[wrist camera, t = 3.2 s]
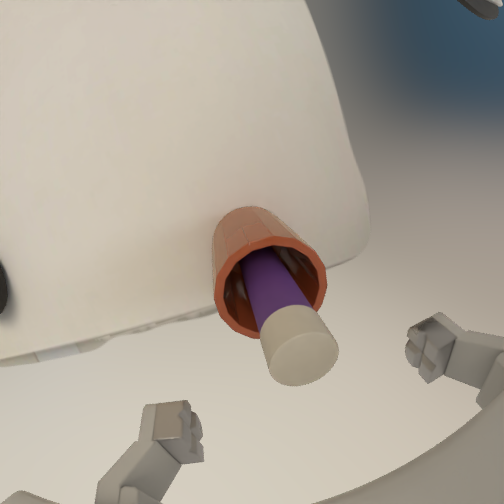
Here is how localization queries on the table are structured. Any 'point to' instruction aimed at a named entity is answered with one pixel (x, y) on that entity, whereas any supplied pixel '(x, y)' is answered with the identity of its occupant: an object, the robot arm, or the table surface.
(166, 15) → the table surface
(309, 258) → the pencil cup
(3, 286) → the smart speaker
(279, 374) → the glue stick
